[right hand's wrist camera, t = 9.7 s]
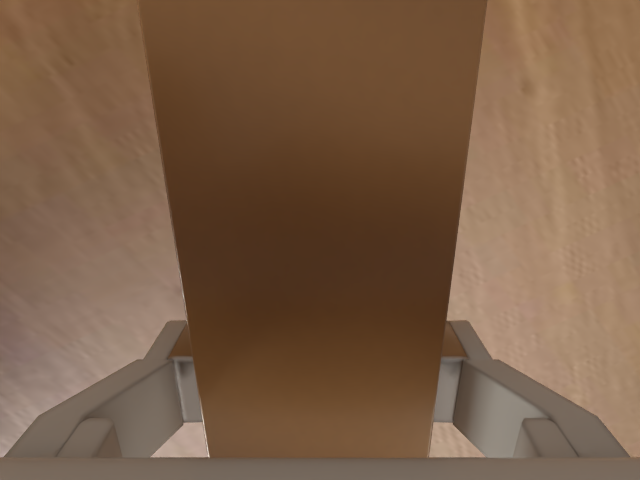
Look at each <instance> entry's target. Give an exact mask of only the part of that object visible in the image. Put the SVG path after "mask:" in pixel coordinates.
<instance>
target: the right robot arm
mask: <svg viewBox="0 0 640 480" xmlns="http://www.w3.org/2000/svg"><path fill="white" fill-rule="evenodd" d="M185 422H202V415H201V409H200V403H199V396H198V390H197V383H196V377H195V371H194V364H193V358H192V351H191V345H190V338H189V332H188V326H187V320H179V321H169V322H167V323H166V325H165V326H164V328H163V329H162V331H161V332H160V334H159V336H158V337H157V339H156V340H155V342H154V343H153V345H152V347H151V348H150V350H149V351H148V353H147V355H146V356H145V358H144V359H143V360H136V361H134V362H132V363H130V364H129V365H127V366H125V367H123V368H122V369H120V370H118V371H116V372H115V373H113V374H111V375H109V376H108V377H106V378H104V379H102V380H101V381H99V382H97V383H95V384H94V385H92V386H90V387H88V388H87V389H85V390H83V391H81V392H80V393H78V394H76V395H74V396H73V397H71V398H69V399H67V400H66V401H64V402H62V403H60V404H59V405H57V406H55V407H53V408H52V409H50V410H48V411H46V412H45V413H43V414H41V415H39V416H38V417H37V418H36V419H35V421H34V422H33V423H32V424H31V425H30V427H29V428H28V429H27V430H26V431H25V432H24V434H23V435H22V436H21V437H20V438H19V440H18V441H17V442H16V443H15V444H14V446H13V447H12V448H11V449H10V450H9V452H8V453H7V454H6V455H5V456H4V457H0V480H640V457H630V456H629V454H628V453H627V452H626V451H625V450H624V448H623V447H622V446H621V445H620V443H619V442H618V441H617V440H616V439H615V437H614V436H613V435H612V434H611V432H610V431H609V430H608V429H607V428H606V426H605V425H604V424H603V423H602V421H601V420H600V419H599V418H598V417H597V416H596V415H594V414H592V413H590V412H589V411H587V410H585V409H583V408H582V407H580V406H578V405H576V404H575V403H573V402H571V401H570V400H568V399H566V398H564V397H563V396H561V395H559V394H557V393H556V392H554V391H552V390H551V389H549V388H547V387H545V386H544V385H542V384H540V383H538V382H537V381H535V380H533V379H531V378H530V377H528V376H526V375H525V374H523V373H521V372H519V371H518V370H516V369H514V368H512V367H511V366H509V365H507V364H505V363H504V362H502V361H500V360H493V359H492V358H491V356H490V354H489V353H488V351H487V350H486V348H485V346H484V345H483V343H482V342H481V340H480V339H479V337H478V335H477V334H476V332H475V331H474V329H473V327H472V326H471V324H470V323H469V322H468V321H466V320H458V321H446V327H445V335H444V342H443V350H442V358H441V366H440V374H439V381H438V389H437V397H436V405H435V413H434V420H433V422H452V423H453V425H454V426H455V427H456V428H457V429H458V430H459V431H460V432H461V433H462V434H463V435H464V436H465V437H466V438H467V439H468V440H469V441H470V442H471V443H472V444H473V445H474V446H475V447H476V448H478V449H479V450H480V451H481V452H482V453H483V454H484V455H485V456H486V457H487V458H276V457H193V458H150V457H151V456H152V455H153V454H154V453H155V452H156V451H157V450H158V449H159V448H160V447H161V446H162V445H163V444H164V443H165V442H166V441H167V440H168V439H169V438H170V437H171V436H172V435H173V434H174V433H175V432H176V431H177V430H178V429H179V428H180V427H181V426H182V425H183V423H185Z"/></svg>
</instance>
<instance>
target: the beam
mask: <svg viewBox="0 0 640 480" xmlns="http://www.w3.org/2000/svg"><path fill="white" fill-rule="evenodd" d="M137 5H138V11H139V18H140V24H141V31H142V37H143V43H144V50H145V56H146V63H147V69H148V76H149V82H150V88H151V95H152V101H153V108H154V114H155V120H156V127H157V133H158V140H159V146H160V152H161V159H162V165H163V172H164V178H165V185H166V191H167V197H168V204H169V210H170V217H171V223H172V229H173V236H174V242H175V249H176V255H177V262H178V268H179V274H180V281H181V287H182V294H183V300H184V306H185V313H186V319H187V326H188V332H189V338H190V345H191V351H192V358H193V364H194V371H195V377H196V383H197V390H198V396H199V403H200V409H201V415H202V422H203V428H204V435H205V441H206V448H207V454H208V457H276V458H429V452H430V444H431V436H432V428H433V420H434V413H435V405H436V397H437V389H438V381H439V374H440V366H441V358H442V350H443V342H444V335H445V327H446V319H447V311H448V303H449V296H450V288H451V280H452V272H453V264H454V257H455V249H456V241H457V233H458V225H459V218H460V210H461V202H462V194H463V186H464V179H465V171H466V163H467V155H468V147H469V140H470V132H471V124H472V116H473V108H474V101H475V93H476V85H477V77H478V69H479V62H480V54H481V46H482V38H483V30H484V22H485V15H486V7H487V0H137Z"/></svg>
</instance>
